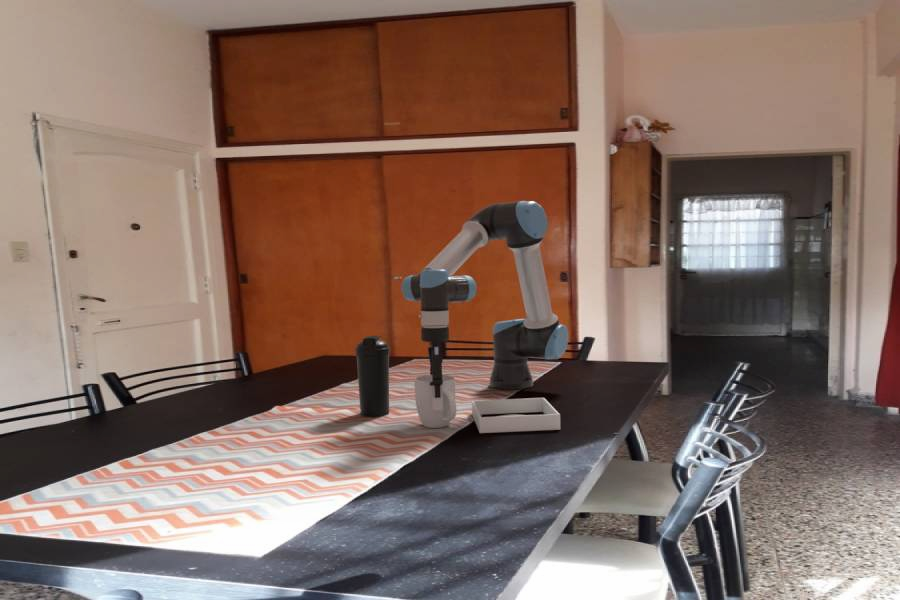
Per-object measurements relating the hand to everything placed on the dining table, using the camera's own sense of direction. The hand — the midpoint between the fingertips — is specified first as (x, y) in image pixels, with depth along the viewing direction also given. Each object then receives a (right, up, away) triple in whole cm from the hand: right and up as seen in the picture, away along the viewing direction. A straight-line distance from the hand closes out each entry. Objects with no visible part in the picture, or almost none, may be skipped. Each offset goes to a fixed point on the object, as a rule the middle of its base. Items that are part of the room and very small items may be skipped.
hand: (436, 404), depth 187 cm
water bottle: (-19, -6, +17) cm, 26 cm away
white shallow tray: (+21, -5, +3) cm, 22 cm away
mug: (0, -6, 0) cm, 6 cm away
